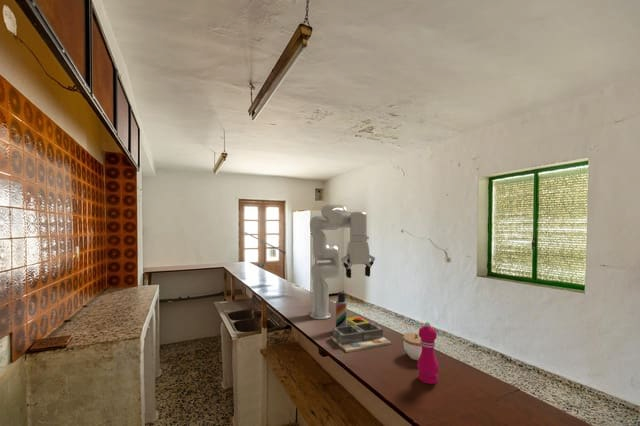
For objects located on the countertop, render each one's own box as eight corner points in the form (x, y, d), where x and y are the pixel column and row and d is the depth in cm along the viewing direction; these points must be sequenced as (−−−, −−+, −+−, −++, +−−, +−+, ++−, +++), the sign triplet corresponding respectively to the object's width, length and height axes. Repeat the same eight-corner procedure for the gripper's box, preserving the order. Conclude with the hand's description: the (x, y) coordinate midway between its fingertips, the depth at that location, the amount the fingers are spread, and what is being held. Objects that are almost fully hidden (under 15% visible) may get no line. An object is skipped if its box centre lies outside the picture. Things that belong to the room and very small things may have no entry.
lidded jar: (435, 358, 115) (435, 335, 115) (420, 365, 108) (420, 341, 109) (413, 348, 123) (412, 327, 124) (397, 355, 117) (397, 332, 117)
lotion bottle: (335, 329, 146) (335, 290, 146) (345, 329, 146) (345, 290, 147) (336, 333, 140) (336, 293, 141) (347, 333, 140) (347, 293, 141)
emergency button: (357, 323, 143) (342, 315, 157) (357, 332, 143) (342, 323, 157) (372, 320, 148) (356, 312, 161) (372, 329, 148) (356, 320, 161)
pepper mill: (437, 387, 94) (436, 327, 95) (415, 381, 98) (414, 323, 99) (440, 377, 100) (439, 321, 101) (419, 371, 104) (419, 317, 105)
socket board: (331, 338, 134) (331, 327, 134) (371, 331, 143) (371, 321, 143) (346, 352, 119) (346, 340, 120) (391, 344, 128) (391, 333, 128)
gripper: (370, 238, 134) (370, 274, 133) (337, 238, 127) (337, 276, 127) (379, 239, 127) (379, 277, 126) (345, 239, 120) (345, 279, 120)
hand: (358, 276), depth 126 cm, fingers open, 9 cm apart
